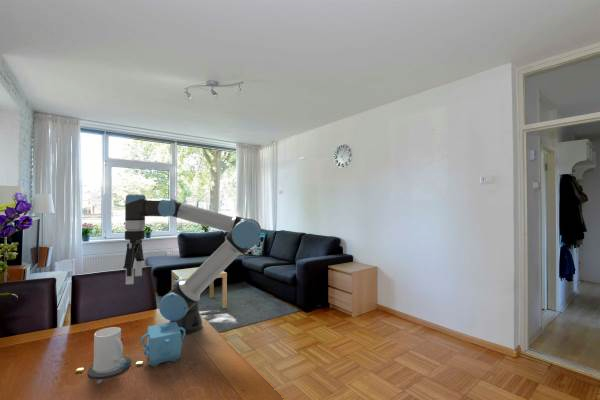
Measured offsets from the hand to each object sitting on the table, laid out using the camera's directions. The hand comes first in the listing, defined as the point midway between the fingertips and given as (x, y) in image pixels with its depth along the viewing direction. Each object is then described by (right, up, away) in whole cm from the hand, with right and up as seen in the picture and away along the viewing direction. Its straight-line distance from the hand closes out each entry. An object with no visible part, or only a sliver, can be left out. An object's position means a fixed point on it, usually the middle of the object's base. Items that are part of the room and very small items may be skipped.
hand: (134, 279), depth 126 cm
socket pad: (+3, -26, -22) cm, 34 cm away
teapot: (+20, -27, -15) cm, 37 cm away
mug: (+3, -26, -21) cm, 33 cm away
